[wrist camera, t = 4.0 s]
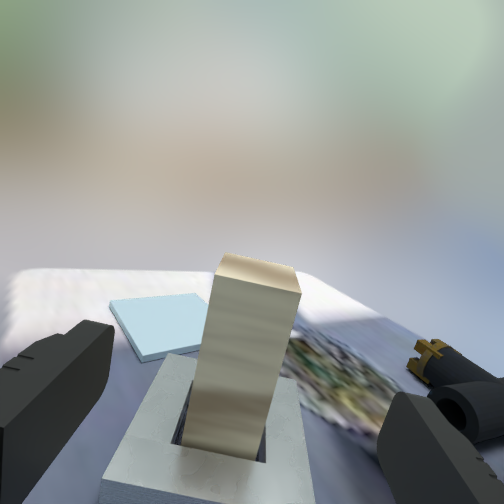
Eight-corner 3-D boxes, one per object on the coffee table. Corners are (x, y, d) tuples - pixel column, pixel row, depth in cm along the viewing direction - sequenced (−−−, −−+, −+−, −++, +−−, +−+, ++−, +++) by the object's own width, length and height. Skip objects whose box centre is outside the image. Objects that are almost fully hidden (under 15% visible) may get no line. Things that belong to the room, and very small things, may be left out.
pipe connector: (387, 336, 36) (466, 333, 42) (373, 373, 38) (450, 366, 44) (489, 413, 26) (571, 395, 32) (464, 460, 28) (548, 434, 34)
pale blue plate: (240, 341, 37) (241, 335, 37) (141, 362, 30) (142, 355, 30) (194, 298, 46) (195, 293, 46) (109, 306, 39) (109, 300, 38)
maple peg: (248, 482, 21) (301, 293, 17) (176, 467, 21) (214, 274, 17) (251, 424, 26) (293, 267, 22) (192, 411, 25) (225, 252, 22)
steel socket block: (306, 554, 17) (318, 522, 17) (97, 512, 17) (101, 478, 17) (289, 402, 29) (295, 380, 28) (164, 375, 29) (168, 352, 28)
